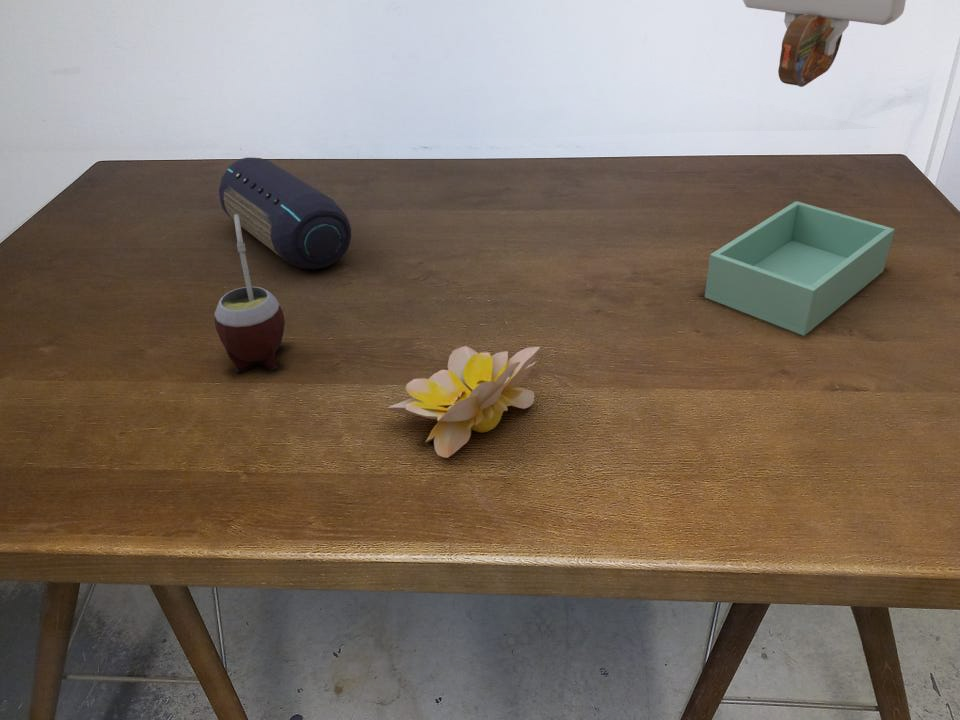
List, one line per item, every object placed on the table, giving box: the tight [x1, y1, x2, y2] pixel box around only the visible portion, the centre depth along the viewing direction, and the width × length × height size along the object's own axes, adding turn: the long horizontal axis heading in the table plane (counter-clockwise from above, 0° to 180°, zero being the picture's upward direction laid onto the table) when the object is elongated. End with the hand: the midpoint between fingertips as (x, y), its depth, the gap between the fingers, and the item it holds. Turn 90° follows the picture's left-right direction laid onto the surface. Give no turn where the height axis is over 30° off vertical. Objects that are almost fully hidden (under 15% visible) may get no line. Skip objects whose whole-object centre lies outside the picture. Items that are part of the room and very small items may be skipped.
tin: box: [777, 14, 843, 88], centre depth 106 cm, size 15×3×8 cm, turn 140°
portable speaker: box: [218, 157, 352, 270], centre depth 110 cm, size 25×10×10 cm, turn 37°
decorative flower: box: [383, 345, 541, 458], centre depth 77 cm, size 15×11×10 cm
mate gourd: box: [214, 214, 286, 375], centre depth 86 cm, size 8×8×15 cm
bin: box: [704, 200, 895, 336], centre depth 96 cm, size 20×13×6 cm, turn 134°
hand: (810, 51), depth 106 cm, fingers closed on tin, 3 cm apart
